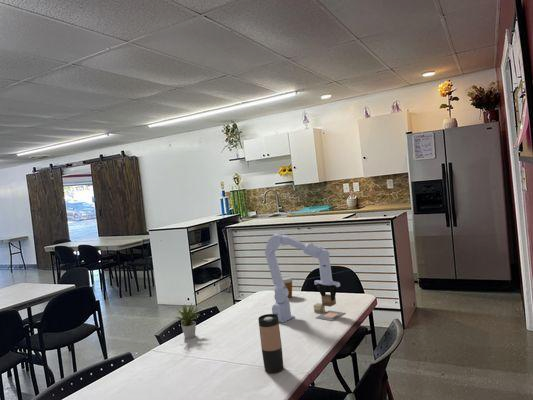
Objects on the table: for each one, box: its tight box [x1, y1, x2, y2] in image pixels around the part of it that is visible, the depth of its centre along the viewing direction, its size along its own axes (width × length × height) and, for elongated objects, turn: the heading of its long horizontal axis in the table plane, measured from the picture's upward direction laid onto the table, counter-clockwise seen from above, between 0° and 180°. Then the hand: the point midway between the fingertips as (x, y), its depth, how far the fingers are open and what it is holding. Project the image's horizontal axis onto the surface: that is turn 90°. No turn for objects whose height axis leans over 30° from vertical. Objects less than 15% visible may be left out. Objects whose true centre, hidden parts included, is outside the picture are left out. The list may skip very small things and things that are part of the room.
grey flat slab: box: [315, 310, 346, 322], centre depth 200 cm, size 12×10×1 cm
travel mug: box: [257, 313, 284, 375], centre depth 148 cm, size 8×8×20 cm
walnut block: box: [321, 293, 337, 307], centre depth 200 cm, size 5×5×4 cm
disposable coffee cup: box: [282, 275, 293, 299], centre depth 243 cm, size 10×10×12 cm
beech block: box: [313, 302, 326, 314], centre depth 209 cm, size 4×4×4 cm
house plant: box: [175, 303, 202, 339], centre depth 193 cm, size 14×14×16 cm
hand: (328, 299), depth 200 cm, fingers closed on walnut block, 5 cm apart
